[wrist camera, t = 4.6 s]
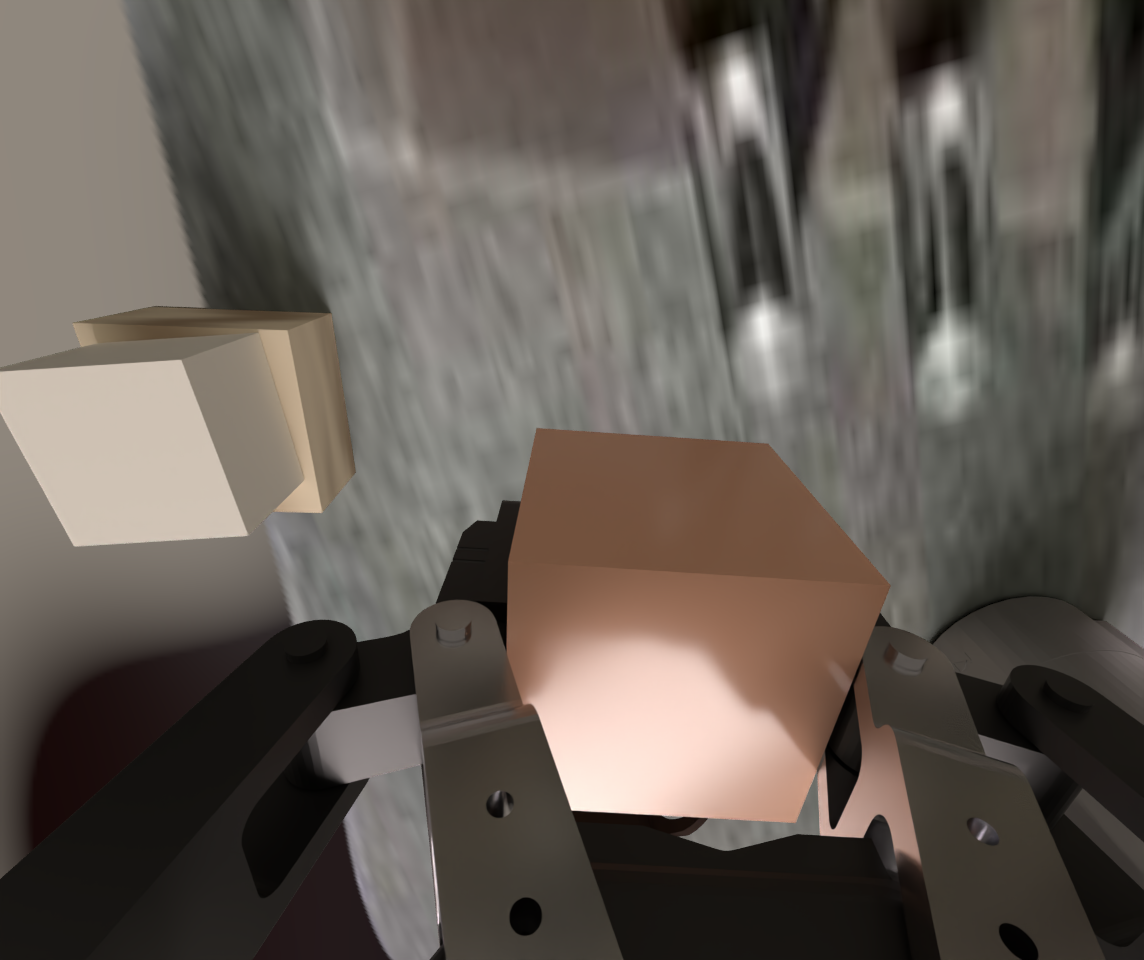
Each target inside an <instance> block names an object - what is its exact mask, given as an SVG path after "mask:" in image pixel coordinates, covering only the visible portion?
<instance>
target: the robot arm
mask: <svg viewBox="0 0 1144 960" xmlns="http://www.w3.org/2000/svg"><path fill="white" fill-rule="evenodd" d="M520 504H521V502H520V501H505V500H503V501H502V504H501V507H500V511H499V514H498V518H497V521H496V522H492V521H476V522H475V523H474V524H472V525H471V526H470V527H469V528H468V529H466V530H465V531H464V532H463V533H462V536H461V539H460V541H459V544H458V546H457V550H456V552H455V554H454V557H453V562H451V565H450V567H449V570H448V573H447V575H446V578H445V581H444V583H443V586H442V588H441V591H440V594H439V596H438V599H437V601H436V604H434V605H432V606H430V607H428V608H426V609H425V610H423V611H422V612H421V613H419V614H418V615H417V616H416V618H415V619H414V620H413V622H412V624H411V627H410V630H408V631H406V632H404V633H401V634H398V635H394V636H390V637H385V638H379V639H373V640H367V641H361V642H357V640H356V636H355V634H354V632H353V631H352V629H351V628H349V627H348V626H347V625H345V624H343V623H340V622H337V621H332V620H313V621H307V622H303V623H299V624H296V625H294V626H291V627H288V628H286V629H285V630H283V631H281V632H279V633H277V634H276V635H274V636H273V637H272V638H270V639H269V640H268V641H267V642H266V643H265V644H263V645H262V646H261V647H260V648H259V649H258V650H257V651H256V652H254V653H253V654H252V655H251V656H250V657H249V658H248V659H247V660H245V661H244V662H243V663H242V664H241V665H240V666H239V667H238V668H237V669H235V670H234V671H233V672H232V673H231V674H230V675H229V676H228V677H226V678H225V679H224V680H223V681H222V682H221V683H220V684H219V685H217V686H216V687H215V688H214V689H213V690H212V691H211V692H210V693H208V694H207V695H206V696H205V697H204V698H203V699H202V700H201V701H199V703H197V704H196V705H195V706H194V707H193V708H192V709H190V710H189V711H188V712H187V713H186V714H185V715H184V716H183V717H182V718H181V719H179V720H178V721H177V722H176V723H175V724H174V725H173V726H171V727H170V728H169V729H168V730H167V731H166V732H165V733H164V734H163V735H161V736H160V737H159V738H158V739H157V740H156V741H155V742H153V743H152V744H151V745H150V746H149V747H148V748H147V749H146V750H145V751H143V752H142V753H141V754H140V755H139V756H138V757H137V758H135V759H134V760H133V761H132V762H131V763H130V764H129V765H128V766H127V767H125V768H124V769H123V770H122V771H121V772H120V773H119V774H118V775H116V776H115V777H114V778H113V779H112V780H111V781H110V782H109V783H108V784H107V785H105V786H104V787H103V788H102V789H101V790H100V791H99V792H97V793H96V794H95V795H94V796H93V797H92V798H91V799H90V800H88V801H87V802H86V803H85V804H84V805H83V806H82V807H81V808H79V809H78V810H77V811H76V812H75V813H74V814H73V815H72V816H70V817H69V818H68V819H67V820H66V821H65V822H64V823H63V824H61V825H60V826H59V827H58V828H57V829H56V830H55V831H54V832H52V833H51V834H50V835H49V836H48V837H47V838H46V839H45V840H44V841H42V842H41V843H40V844H39V845H38V846H37V847H36V848H35V849H33V850H32V851H31V852H30V853H29V854H28V855H27V856H26V857H24V858H23V859H22V860H21V861H20V862H19V863H18V864H17V865H15V866H14V867H13V868H12V869H11V870H10V871H9V872H8V873H6V874H5V875H4V876H3V877H2V878H1V879H0V960H252V959H253V958H254V956H255V955H256V953H257V952H258V950H259V948H260V947H261V945H262V944H263V942H264V941H265V939H266V938H267V936H268V935H269V933H270V931H271V930H272V928H273V926H274V925H275V924H276V922H277V921H278V919H279V918H280V916H281V914H282V913H283V911H284V910H285V908H286V907H287V905H288V904H289V902H290V900H291V899H292V898H293V896H294V895H295V893H296V891H297V890H298V888H299V887H300V885H301V884H302V882H303V881H304V879H305V878H306V876H307V874H308V873H309V871H310V870H311V868H312V867H313V865H314V864H315V862H316V860H317V859H318V857H319V856H320V854H321V853H322V851H323V850H324V848H325V847H326V845H327V843H328V842H329V840H330V839H331V837H332V836H333V834H334V833H335V831H336V830H337V828H338V826H339V825H340V824H341V822H342V820H343V819H344V817H345V816H346V814H347V813H348V811H349V810H350V808H351V807H352V805H353V804H354V802H355V800H356V799H357V797H358V796H359V794H360V793H361V791H362V790H363V788H364V787H365V785H366V783H367V782H368V780H369V778H370V777H374V776H378V775H382V774H386V773H390V772H394V771H398V770H402V769H406V768H410V767H414V766H418V765H421V769H422V778H423V788H424V798H425V807H426V817H427V827H428V836H429V846H430V856H431V866H432V876H433V887H434V897H435V908H436V918H437V928H438V937H439V947H440V948H439V949H438V950H437V951H436V953H435V954H434V955H433V956H432V957H431V959H430V960H1144V649H1143V648H1142V647H1141V646H1139V645H1138V644H1137V643H1135V642H1134V641H1133V640H1131V639H1130V638H1128V637H1127V636H1126V635H1124V634H1123V633H1122V632H1120V631H1119V630H1118V629H1116V628H1115V627H1113V626H1112V625H1111V624H1109V623H1108V622H1107V621H1097V620H1092V619H1091V618H1090V617H1088V616H1087V615H1086V614H1084V613H1083V612H1082V611H1080V610H1079V609H1078V608H1076V607H1075V606H1073V605H1071V604H1069V603H1067V602H1065V601H1062V600H1058V599H1054V598H1050V597H1032V596H1029V597H1021V598H1014V599H1008V600H1005V601H1001V602H998V603H994V604H991V605H989V606H986V607H984V608H982V609H979V610H977V611H975V612H973V613H971V614H969V615H968V616H966V617H964V618H963V619H961V620H959V621H958V622H956V623H955V624H954V625H952V626H951V627H950V628H949V629H948V630H946V631H945V632H944V633H943V634H942V635H941V636H940V637H939V638H938V639H937V640H936V641H935V643H934V644H933V645H932V644H931V643H930V642H928V641H926V640H925V639H923V638H921V637H919V636H917V635H915V634H912V633H910V632H907V631H905V630H901V629H898V628H893V627H891V626H890V625H889V624H888V622H887V621H886V620H885V618H884V617H883V616H882V615H881V613H880V614H879V616H878V619H877V621H876V624H875V626H874V629H873V631H872V634H871V636H870V639H869V641H868V644H867V646H866V649H865V651H864V654H863V656H862V659H861V661H860V664H859V666H858V668H857V671H856V673H855V676H854V678H853V681H852V683H851V686H850V688H849V691H848V693H847V696H846V698H845V701H844V703H843V706H842V708H841V711H840V713H839V716H838V718H837V721H836V723H835V726H834V728H833V731H832V733H831V736H830V738H829V741H828V743H827V746H826V748H825V751H824V753H823V756H822V758H821V761H820V763H819V766H818V768H817V775H818V798H819V821H820V836H819V835H801V834H797V835H793V836H789V837H784V838H780V839H776V840H772V841H768V842H764V843H760V844H756V845H752V846H748V847H744V848H740V849H736V850H731V851H722V850H718V849H714V848H711V847H708V846H705V845H702V844H699V843H696V842H693V841H690V840H686V839H683V838H680V837H677V836H674V835H671V834H668V833H665V832H662V831H658V830H655V829H652V828H649V827H646V826H640V825H622V824H605V823H587V822H576V821H575V819H574V816H573V813H572V810H571V807H570V804H569V801H568V798H567V796H566V793H565V790H564V787H563V784H562V781H561V778H560V775H559V772H558V770H557V767H556V764H555V761H554V758H553V755H552V752H551V749H550V746H549V744H548V741H547V738H546V735H545V732H544V729H543V726H542V723H541V721H540V718H539V715H538V713H537V711H536V709H535V707H534V706H533V704H531V703H530V704H526V705H524V704H523V702H522V699H521V696H520V693H519V690H518V687H517V684H516V681H515V678H514V675H513V672H512V668H511V665H510V662H509V659H508V656H507V598H508V560H509V555H510V550H511V546H512V541H513V536H514V532H515V527H516V522H517V518H518V513H519V508H520Z"/></svg>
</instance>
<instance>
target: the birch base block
mask: <svg viewBox="0 0 1144 960" xmlns="http://www.w3.org/2000/svg"><path fill="white" fill-rule="evenodd" d="M73 326H74V329H75V332H76V334H77V337H78V340H79V343H80V345H81V347H83V346H87V345H91V344H95V343H107V342H122V341H137V340H152V339H167V338H183V337H198V336H213V335H228V334H243V333H258V332H259V335H260V338H261V342H262V345H263V348H264V351H265V355H266V358H267V361H268V364H269V367H270V371H271V374H272V377H273V380H274V383H275V387H276V390H277V393H278V396H279V400H280V403H281V406H282V409H283V412H284V416H285V419H286V422H287V425H288V428H289V432H290V435H291V438H292V441H293V444H294V448H295V451H296V454H297V457H298V461H299V464H300V467H301V470H302V473H303V477H304V481H303V482H302V483H301V484H300V485H299V486H298V487H297V488H296V489H295V490H294V491H293V492H292V493H291V494H290V495H289V496H288V497H287V498H286V499H285V500H284V501H283V502H282V503H281V504H280V505H279V506H278V507H277V508H276V509H275V510H274V511H273V512H310V513H323V511H324V510H325V509H326V508H327V507H328V505H329V504H330V503H331V502H332V500H333V499H334V498H335V497H336V496H337V494H338V493H339V492H340V491H341V490H342V488H343V487H344V486H345V485H346V484H347V482H348V481H349V480H350V479H351V478H352V476H353V475H354V474H355V473H356V471H355V464H354V458H353V451H352V445H351V438H350V432H349V425H348V419H347V412H346V406H345V399H344V393H343V386H342V380H341V373H340V367H339V360H338V354H337V347H336V341H335V334H334V328H333V321H332V315H331V313H307V312H280V311H252V310H225V309H205V308H196V307H167V306H153V307H148V308H143V309H138V310H133V311H129V312H124V313H119V314H114V315H109V316H104V317H99V318H94V319H89V320H84V321H79V322H74V323H73Z"/></svg>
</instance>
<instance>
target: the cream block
mask: <svg viewBox="0 0 1144 960" xmlns="http://www.w3.org/2000/svg"><path fill="white" fill-rule="evenodd" d="M0 413H1V415H2V417H3V419H4V421H5V422H6V424H7V426H8V428H9V430H10V432H11V433H12V435H13V437H14V439H15V441H16V442H17V444H18V446H19V448H20V449H21V451H22V453H23V455H24V457H25V459H26V460H27V462H28V464H29V466H30V468H31V469H32V471H33V473H34V475H35V477H36V478H37V480H38V482H39V484H40V486H41V487H42V489H43V491H44V492H45V495H46V496H47V498H48V500H49V501H50V504H51V505H52V507H53V509H54V511H55V513H56V514H57V516H58V518H59V520H60V522H61V523H62V525H63V527H64V529H65V531H66V532H67V534H68V536H69V538H70V540H71V542H72V543H73V545H74V546H90V545H106V544H122V543H139V542H155V541H171V540H187V539H203V538H220V537H236V536H249V535H250V534H251V533H252V532H253V531H254V530H255V528H257V527H258V526H259V525H260V524H261V523H262V522H263V521H264V520H265V519H266V518H267V517H268V516H269V515H270V514H271V513H272V512H273V511H274V510H275V509H276V508H277V507H278V506H279V505H280V504H281V503H282V502H283V501H284V500H285V499H286V498H287V497H288V496H289V495H290V494H291V493H292V492H293V491H294V490H295V489H296V488H297V487H298V486H299V485H300V484H301V483H302V482H303V481H304V477H303V473H302V470H301V467H300V464H299V461H298V457H297V454H296V451H295V448H294V444H293V441H292V438H291V435H290V432H289V428H288V425H287V422H286V419H285V416H284V412H283V409H282V406H281V403H280V400H279V396H278V393H277V390H276V387H275V383H274V380H273V377H272V374H271V371H270V367H269V364H268V361H267V358H266V355H265V351H264V348H263V345H262V342H261V338H260V335H259V332H258V333H243V334H228V335H213V336H198V337H183V338H167V339H152V340H137V341H122V342H107V343H95V344H91V345H87V346H83V347H80V348H75V349H72V350H68V351H64V352H60V353H56V354H52V355H48V356H44V357H40V358H36V359H32V360H28V361H24V362H20V363H16V364H12V365H8V366H4V367H1V368H0Z"/></svg>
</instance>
